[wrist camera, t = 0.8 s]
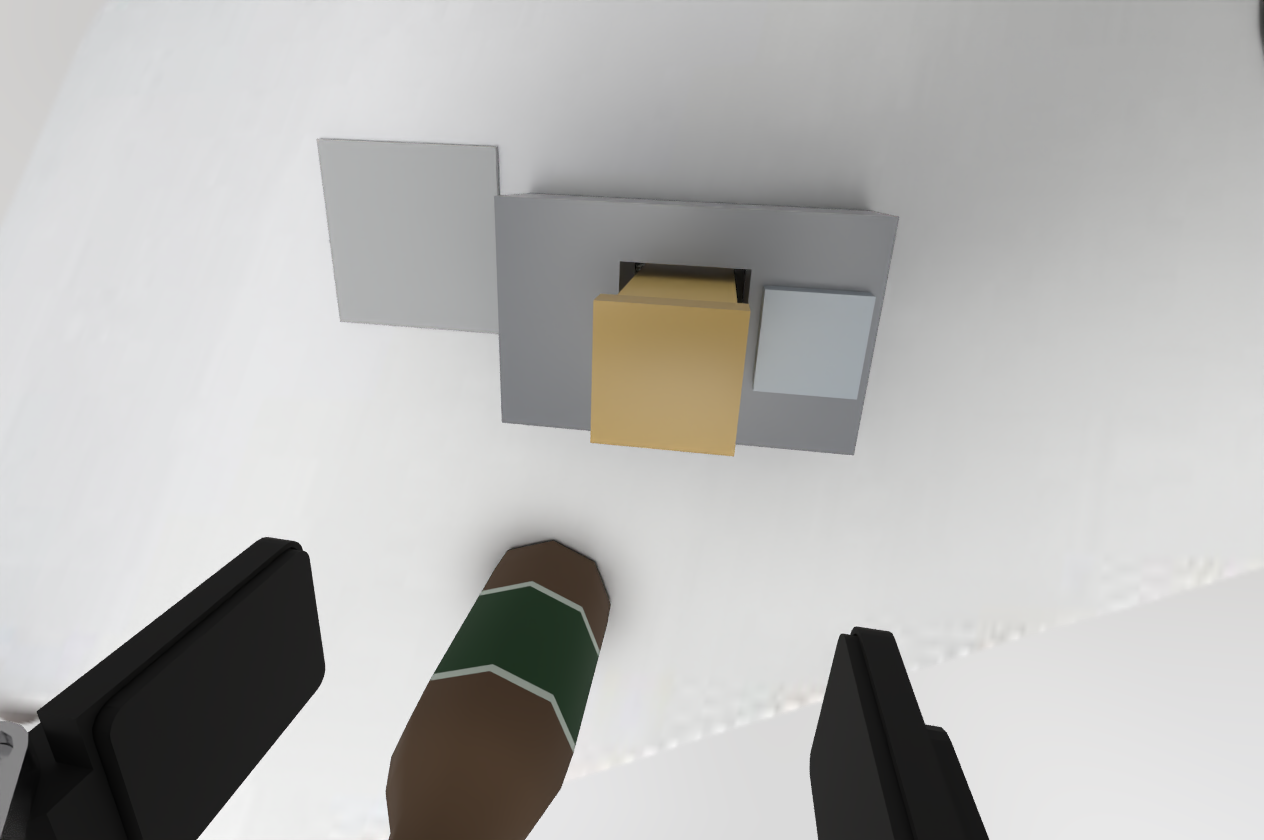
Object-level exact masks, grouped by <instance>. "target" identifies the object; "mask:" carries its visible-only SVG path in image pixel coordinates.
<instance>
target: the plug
mask: <svg viewBox="0 0 1264 840" xmlns="http://www.w3.org/2000/svg"><path fill="white" fill-rule="evenodd" d="M749 320H750V306H749V304H745V303H737V295H736V286H735V276H734V268H719V267H703V266H687V265H671V264H655V263H646V264H645V265H644V266H643V267H642V268H641V269H640V270H639V271H638V273H637V274H636V275H635V276H634V277H633V278H632V279H631V280H630V281H629V282H628V283H627V285H626V286H625V287H624V288H623V289H622V290H621V291H620V292H619V293H618V294H617V295H613V294H600V295H598V296H597V297H596V298H595V299H594V300H593V343H592V391H591V438H590V443H599V444H610V445H620V446H631V447H641V448H652V449H662V450H673V451H683V452H694V453H704V454H715V455H725V456H734V452H735V443H736V434H737V425H738V416H739V408H740V399H741V390H742V381H743V372H744V364H745V355H746V346H747V337H748V328H749Z"/></svg>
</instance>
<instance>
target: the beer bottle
mask: <svg viewBox="0 0 1264 840" xmlns="http://www.w3.org/2000/svg"><path fill="white" fill-rule="evenodd" d="M609 610H610V601H609V599H608V596H607V593H606V591H605V588H604V585H603V583H602V580H601V578H600V575H599V572H598V570H597V567H596V564H595V562H594V561H592V560H590V559H588V558H586V557H584V556H582V555H580V554H578V553H576V552H574V551H573V550H571V549H569V548H567V547H565V546H563V545H561V544H559V543H557V542H555V541H549V542H544V543H539V544H535V545H530V546H525V547H520V548H515V549H511V550H508V551H507V552H506V554H505V555H504V556H503V558H502V559H501V561H500V562H499V563H498V565H497V566H496V568H495V570H494V571H493V573H492V575H491V577H490V578H489V580H488V582H487V583H486V585H485V587H484V589H483V590H482V592H481V594H480V595H479V597H478V599H477V600H476V602H475V604H474V606H473V607H472V609H471V611H470V612H469V614H468V616H467V618H466V619H465V621H464V623H463V624H462V626H461V628H460V629H459V631H458V633H457V635H456V636H455V638H454V640H453V641H452V643H451V645H450V647H449V648H448V650H447V652H446V653H445V655H444V657H443V659H442V660H441V662H440V664H439V665H438V667H437V669H436V670H435V672H434V674H433V676H432V677H431V679H430V681H429V683H428V685H427V687H426V688H425V690H424V692H423V694H422V696H421V698H420V700H419V702H418V704H417V706H416V708H415V710H414V712H413V714H412V716H411V718H410V719H409V721H408V723H407V725H406V728H405V730H404V732H403V734H402V736H401V738H400V740H399V742H398V744H397V746H396V748H395V750H394V753H393V755H392V757H391V762H390V768H389V774H388V780H387V786H386V800H387V808H388V816H389V824H390V832H391V834H390V837H389V840H525V839H526V837H527V836H528V834H529V833H530V832H531V830H532V829H533V828H534V826H535V825H536V823H537V822H538V820H539V819H540V818H541V816H542V815H543V813H544V812H545V810H546V809H547V808H548V806H549V805H550V803H551V802H552V800H553V799H554V798H555V796H556V795H557V793H558V792H559V790H560V789H561V786H562V784H563V781H564V778H565V775H566V772H567V770H568V767H569V764H570V761H571V758H572V756H573V753H574V749H575V745H576V741H577V737H578V734H579V730H580V726H581V722H582V718H583V714H584V711H585V707H586V703H587V699H588V695H589V691H590V688H591V684H592V680H593V676H594V672H595V668H596V665H597V661H598V657H599V653H600V649H601V645H602V642H603V638H604V634H605V630H606V626H607V622H608V616H609Z"/></svg>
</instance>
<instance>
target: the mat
mask: <svg viewBox="0 0 1264 840" xmlns="http://www.w3.org/2000/svg"><path fill="white" fill-rule="evenodd" d="M317 145H318V153H319V161H320V168H321V176H322V184H323V192H324V199H325V207H326V215H327V223H328V230H329V238H330V246H331V254H332V262H333V269H334V277H335V285H336V293H337V300H338V308H339V316H340V322H351V323H364V324H376V325H389V326H402V327H415V328H428V329H441V330H454V331H467V332H480V333H493V334H499V323H498V295H497V266H496V237H495V209H494V196H499V171H498V147H495V146H472V145H448V144H425V143H402V142H378V141H355V140H332V139H317Z"/></svg>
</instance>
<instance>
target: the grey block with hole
mask: <svg viewBox="0 0 1264 840" xmlns="http://www.w3.org/2000/svg"><path fill="white" fill-rule="evenodd" d="M494 209H495V237H496V266H497V295H498V323H499V352H500V380H501V409H502V423H513V424H523V425H534V426H545V427H556V428H566V429H577V430H588V431H591V391H592V343H593V300H594V299H595V298H596V297H597V296H598V295H600V294H613V295H617V294H618V293H619V292H620V291H621V290H622V289H623V288H624V287H625V286H626V285H627V283H628V282H629V281H630V280H631V279H632V278H633V277H634V273H635V262H639V263H655V264H671V265H687V266H703V267H719V268H735V269H746V273H745V283H744V292H743V301H742V303H745V304H749V306H750V320H749V328H748V337H747V346H746V355H745V364H744V372H743V381H742V390H741V399H740V408H739V416H738V425H737V434H736V443H735V444H738V445H748V446H759V447H770V448H781V449H791V450H802V451H813V452H823V453H834V454H845V455H854V451H855V446H856V441H857V436H858V430H859V425H860V420H861V415H862V409H863V404H864V399H865V394H866V388H867V383H868V378H869V373H870V367H871V362H872V357H873V352H874V346H875V341H876V336H877V331H878V325H879V320H880V315H881V310H882V304H883V299H884V294H885V289H886V283H887V278H888V273H889V268H890V262H891V257H892V252H893V247H894V241H895V236H896V231H897V226H898V220H899V217H897V216H893V215H888V214H884V213H879V212H875V211H868V210H848V209H829V208H809V207H789V206H770V205H750V204H731V203H711V202H692V201H672V200H653V199H633V198H614V197H594V196H574V195H555V194H535V193H525V194H512V195H499V196H494Z"/></svg>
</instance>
